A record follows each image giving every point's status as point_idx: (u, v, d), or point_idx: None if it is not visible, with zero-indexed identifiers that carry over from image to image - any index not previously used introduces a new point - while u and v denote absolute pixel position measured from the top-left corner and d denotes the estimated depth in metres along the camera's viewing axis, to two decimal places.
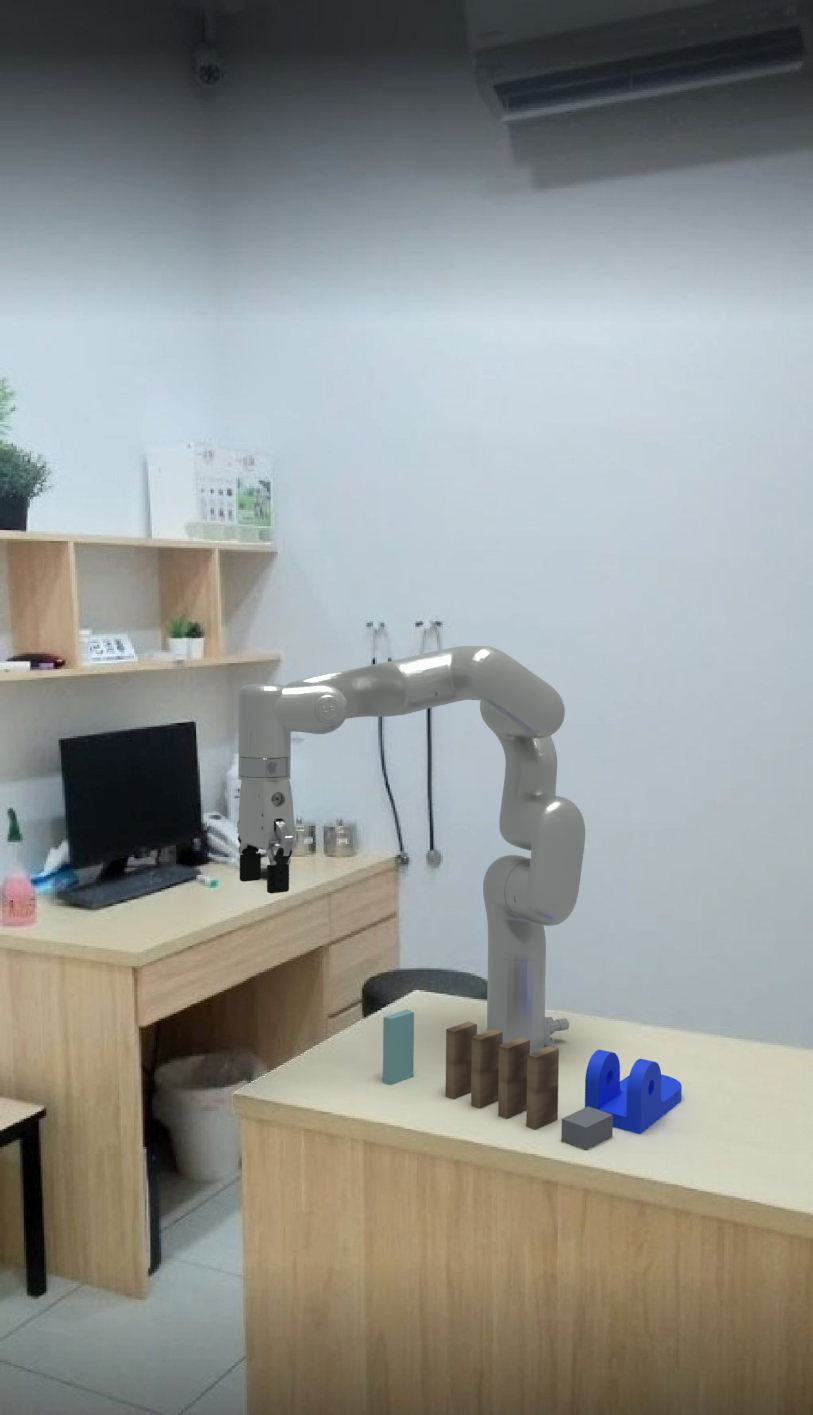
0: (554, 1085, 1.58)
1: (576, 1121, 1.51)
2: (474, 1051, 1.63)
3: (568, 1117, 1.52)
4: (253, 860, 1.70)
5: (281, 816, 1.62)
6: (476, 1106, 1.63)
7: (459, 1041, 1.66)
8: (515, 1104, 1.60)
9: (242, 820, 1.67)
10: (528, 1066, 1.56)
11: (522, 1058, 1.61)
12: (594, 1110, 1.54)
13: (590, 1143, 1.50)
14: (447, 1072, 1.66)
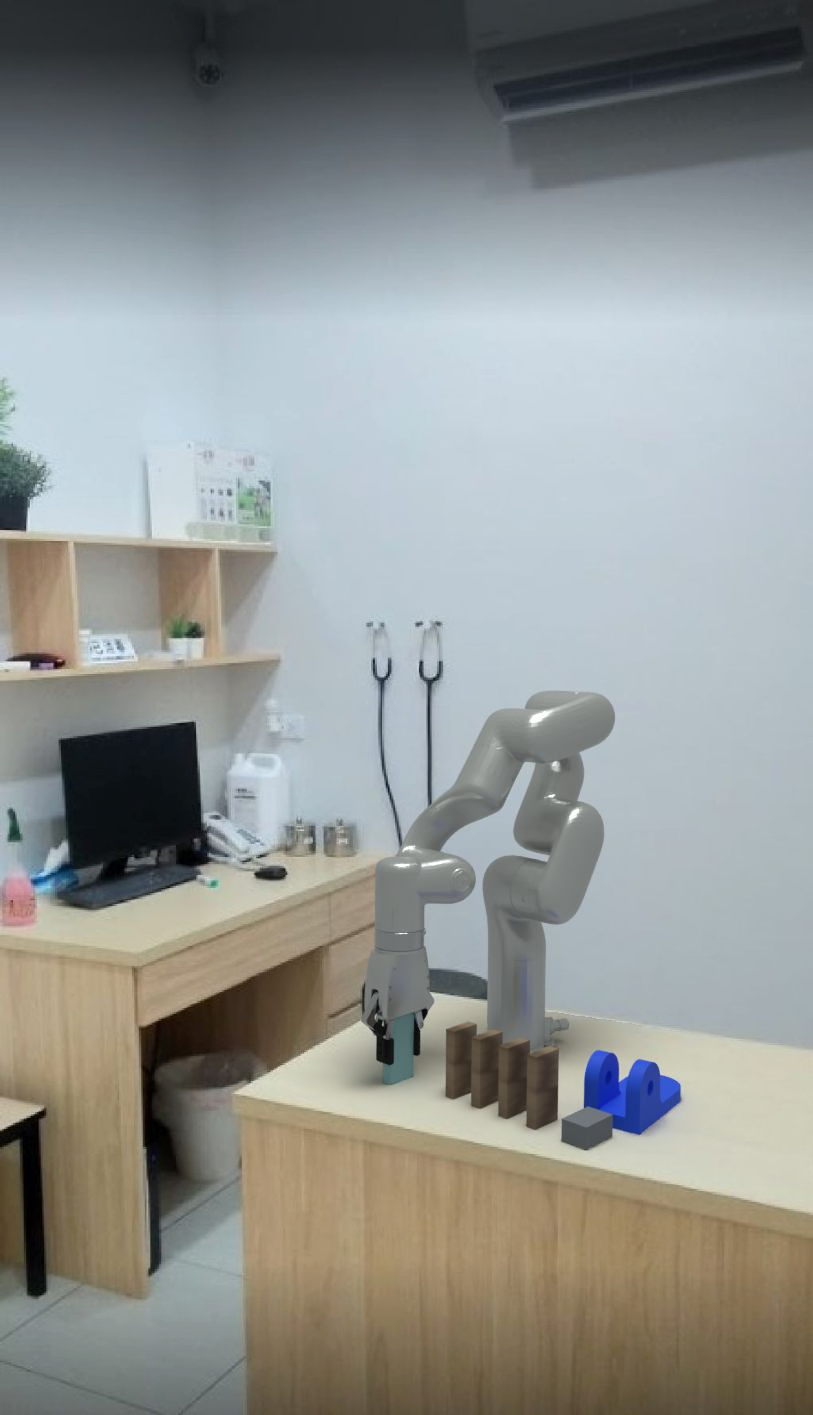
0: (554, 1085, 1.58)
1: (576, 1121, 1.51)
2: (474, 1051, 1.63)
3: (568, 1117, 1.52)
4: None
5: None
6: (476, 1106, 1.63)
7: (459, 1041, 1.66)
8: (515, 1104, 1.60)
9: (397, 996, 1.70)
10: (528, 1066, 1.56)
11: (522, 1058, 1.61)
12: (594, 1110, 1.54)
13: (590, 1143, 1.50)
14: (447, 1072, 1.66)
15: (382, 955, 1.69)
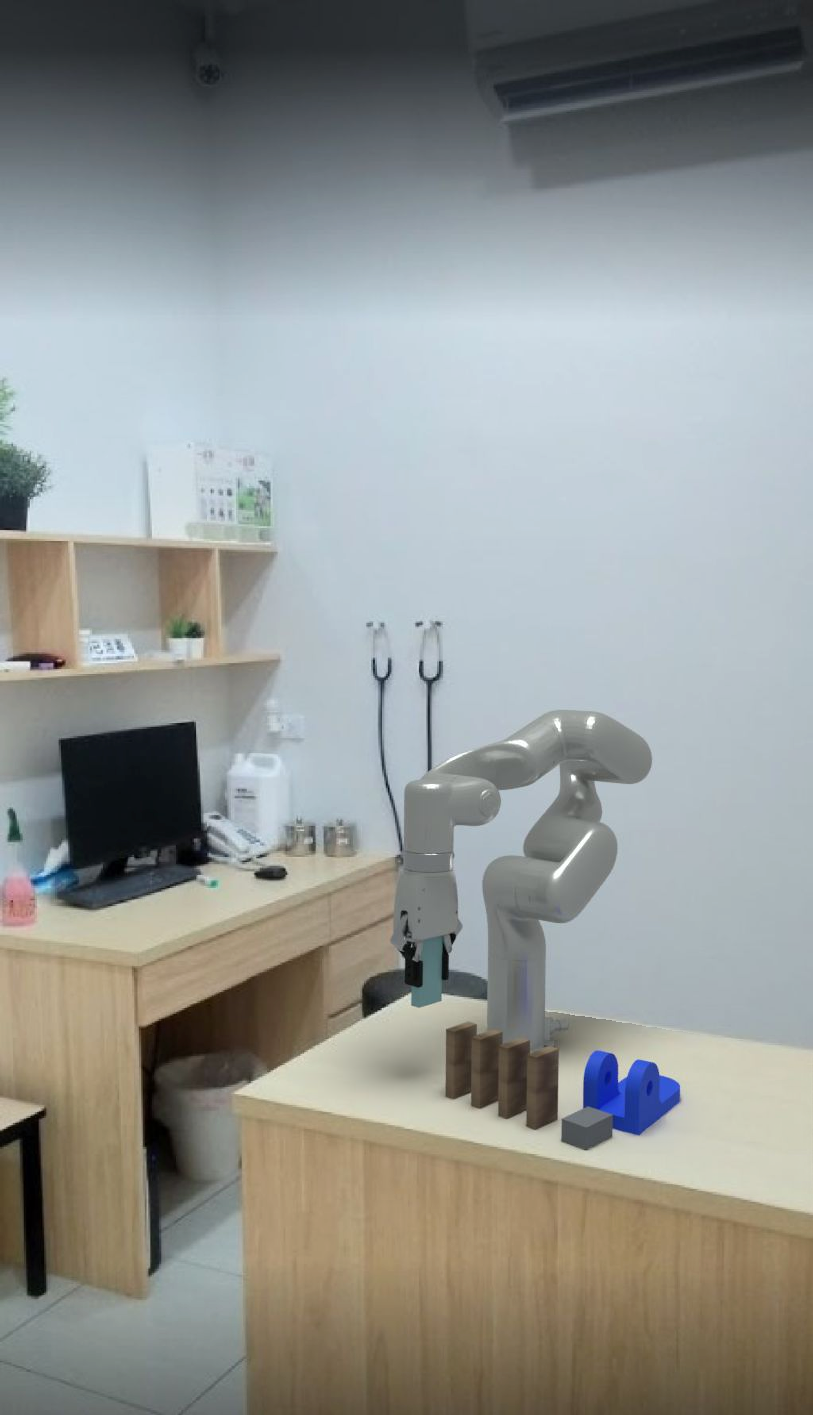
0: (554, 1085, 1.58)
1: (576, 1121, 1.51)
2: (474, 1051, 1.63)
3: (568, 1117, 1.52)
4: None
5: None
6: (476, 1106, 1.63)
7: (459, 1041, 1.66)
8: (515, 1104, 1.60)
9: (427, 917, 1.68)
10: (528, 1066, 1.56)
11: (522, 1058, 1.61)
12: (594, 1110, 1.54)
13: (590, 1143, 1.50)
14: (447, 1072, 1.66)
15: (411, 876, 1.68)
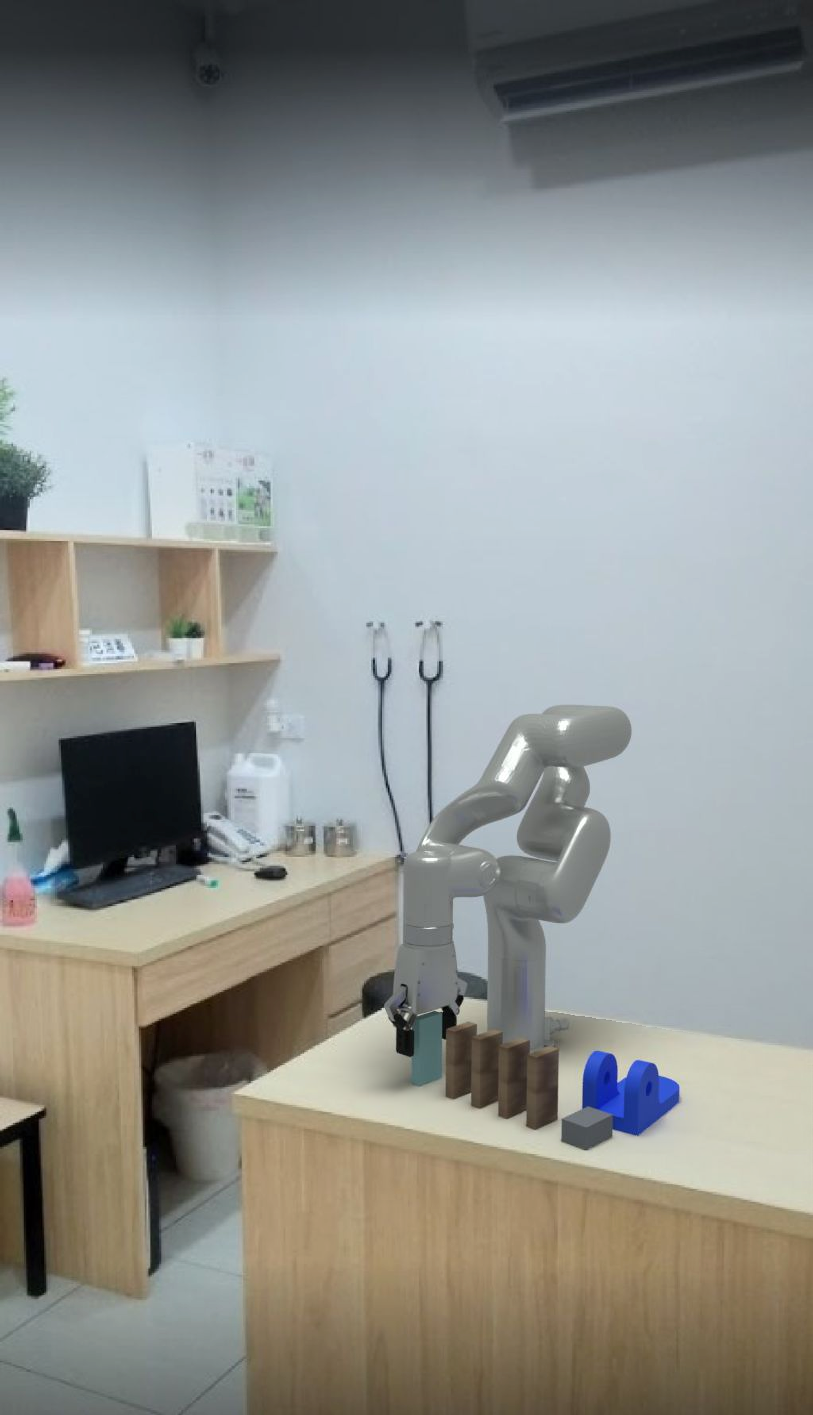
0: (554, 1085, 1.58)
1: (576, 1121, 1.51)
2: (474, 1051, 1.63)
3: (568, 1117, 1.52)
4: None
5: None
6: (476, 1106, 1.63)
7: (459, 1041, 1.66)
8: (515, 1104, 1.60)
9: (426, 991, 1.69)
10: (528, 1066, 1.56)
11: (522, 1058, 1.61)
12: (594, 1110, 1.54)
13: (590, 1143, 1.50)
14: (447, 1072, 1.66)
15: (411, 950, 1.69)
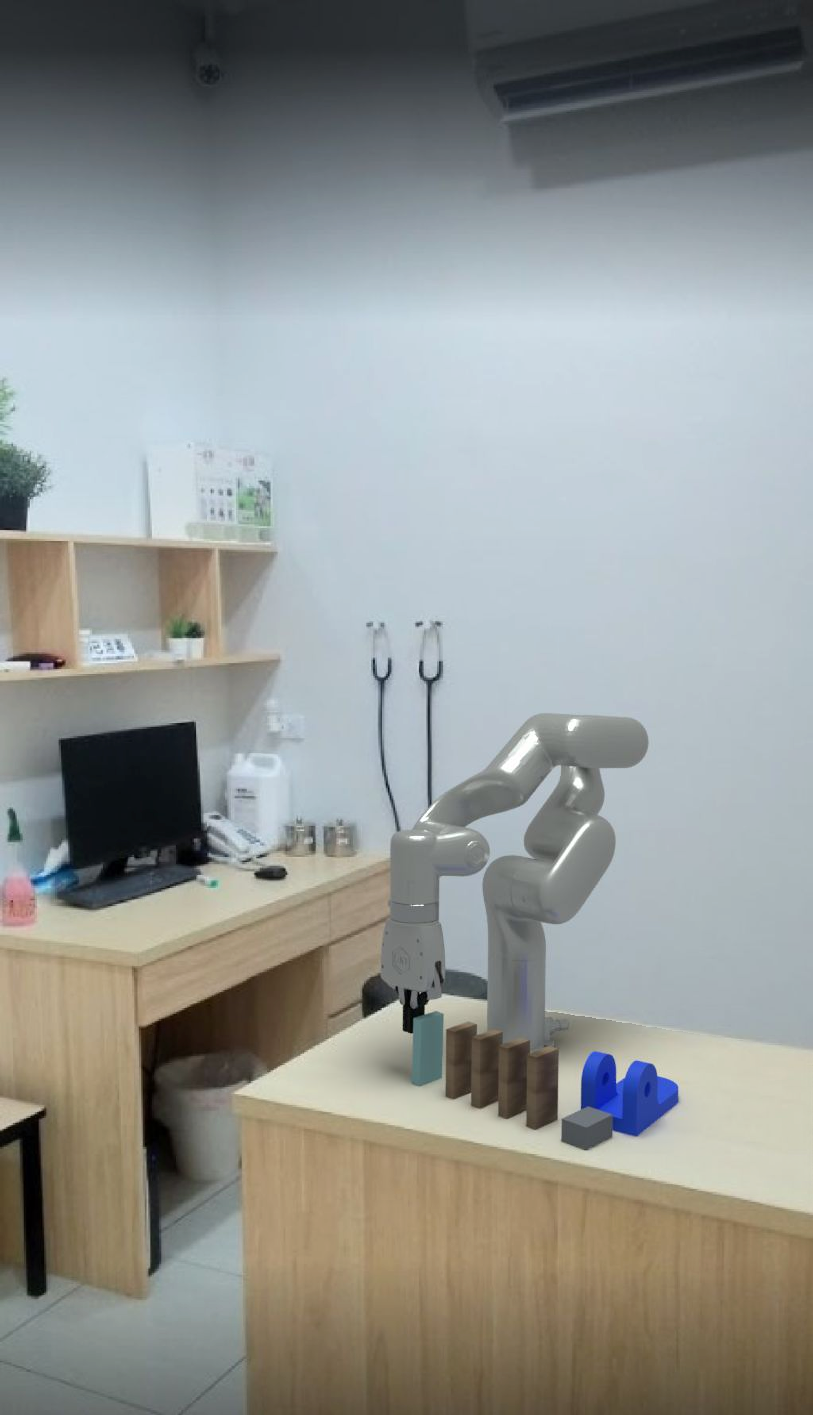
0: (554, 1085, 1.58)
1: (576, 1121, 1.51)
2: (474, 1051, 1.63)
3: (568, 1117, 1.52)
4: None
5: None
6: (476, 1106, 1.63)
7: (459, 1041, 1.66)
8: (515, 1104, 1.60)
9: None
10: (528, 1066, 1.56)
11: (522, 1058, 1.61)
12: (594, 1110, 1.54)
13: (590, 1143, 1.50)
14: (447, 1072, 1.66)
15: (437, 925, 1.71)
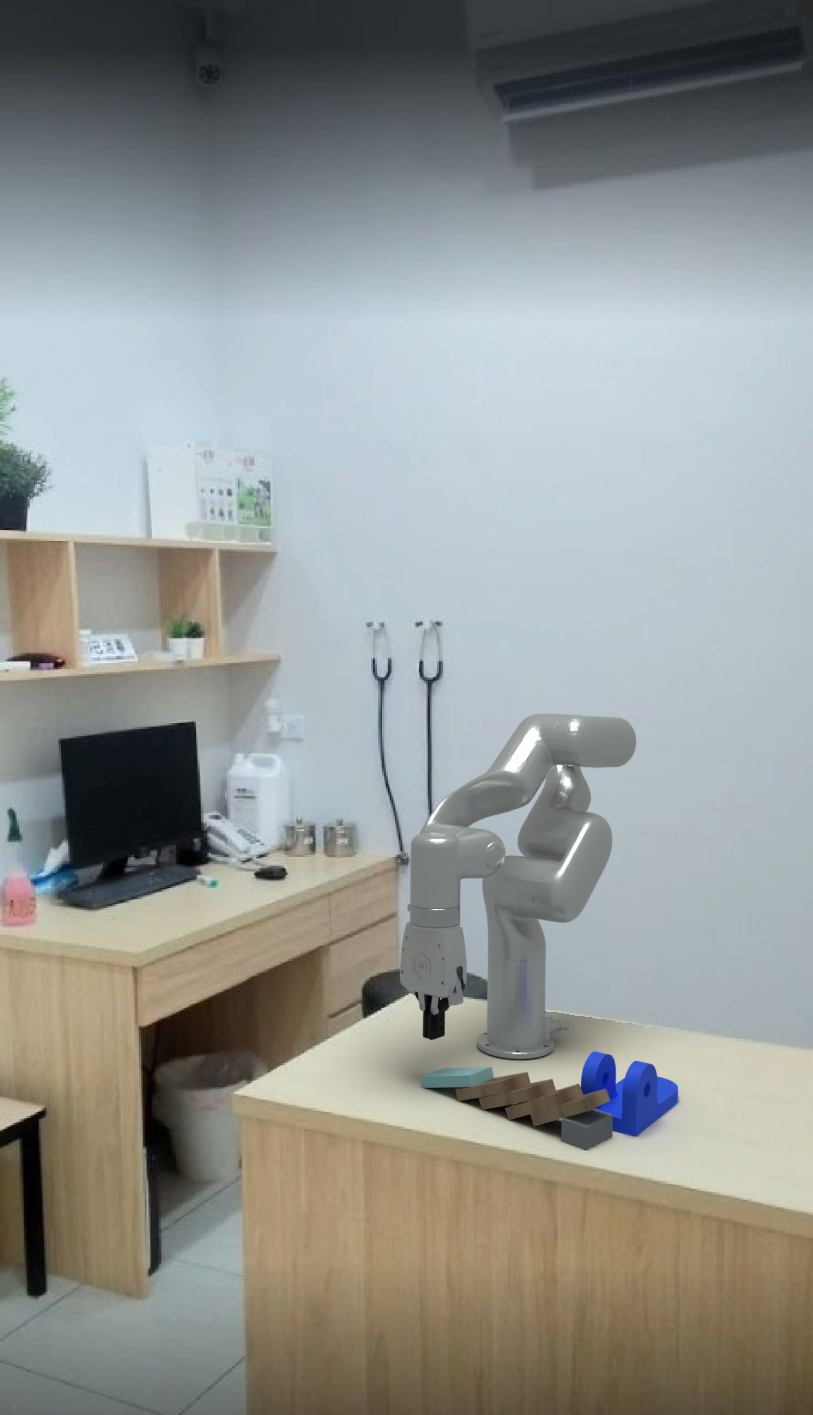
0: None
1: (576, 1121, 1.51)
2: (520, 1094, 1.57)
3: (568, 1117, 1.52)
4: None
5: None
6: (481, 1105, 1.62)
7: None
8: None
9: None
10: (575, 1102, 1.50)
11: None
12: (594, 1110, 1.54)
13: (590, 1143, 1.50)
14: (473, 1089, 1.63)
15: (459, 930, 1.69)
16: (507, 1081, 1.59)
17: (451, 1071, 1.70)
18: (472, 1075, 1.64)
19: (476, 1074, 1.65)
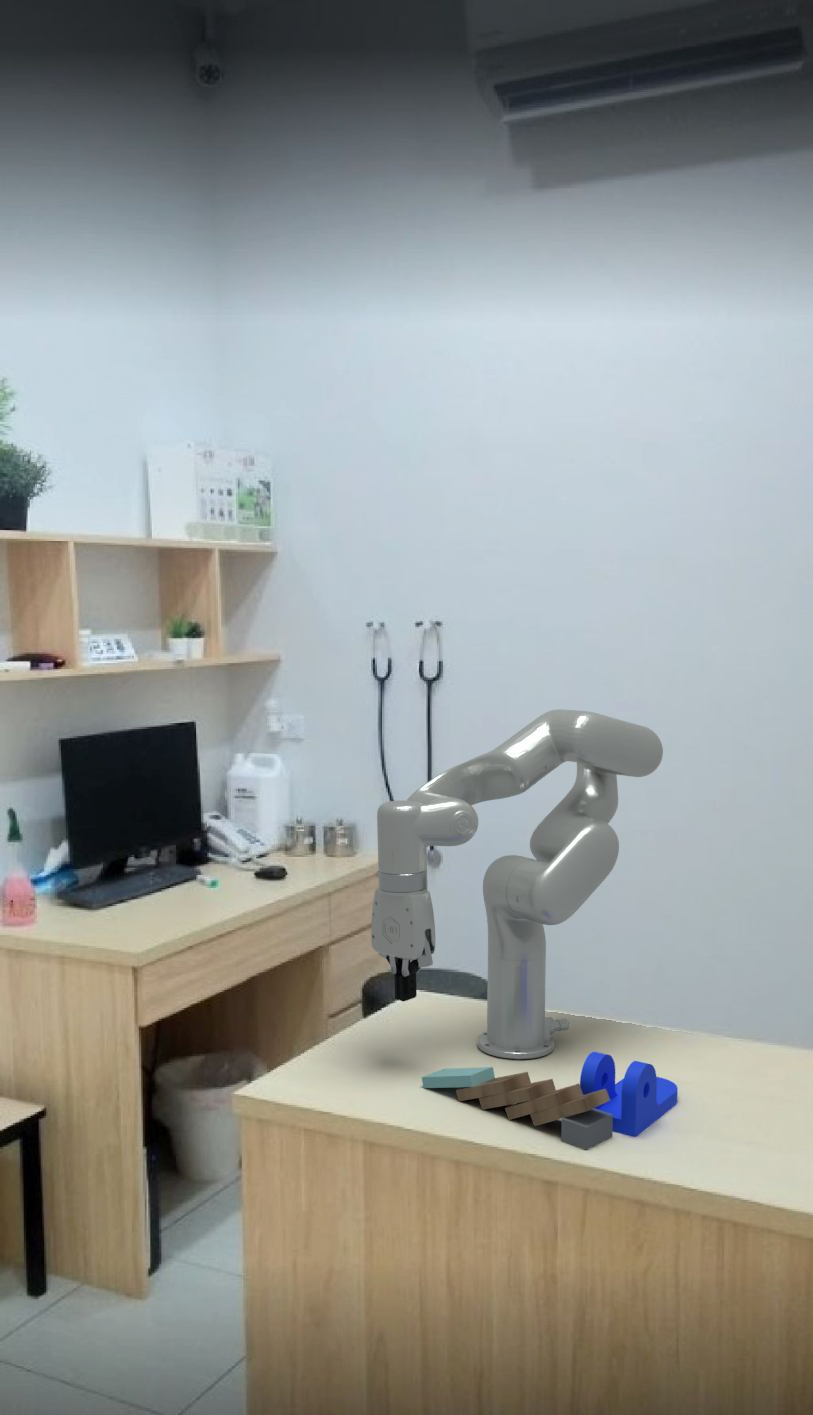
0: None
1: (576, 1121, 1.51)
2: (520, 1094, 1.57)
3: (568, 1117, 1.52)
4: None
5: None
6: (481, 1105, 1.62)
7: None
8: None
9: None
10: (575, 1102, 1.51)
11: None
12: (594, 1110, 1.54)
13: (590, 1143, 1.50)
14: (473, 1089, 1.63)
15: (426, 894, 1.73)
16: (507, 1081, 1.59)
17: (452, 1071, 1.70)
18: (473, 1075, 1.64)
19: (477, 1074, 1.65)
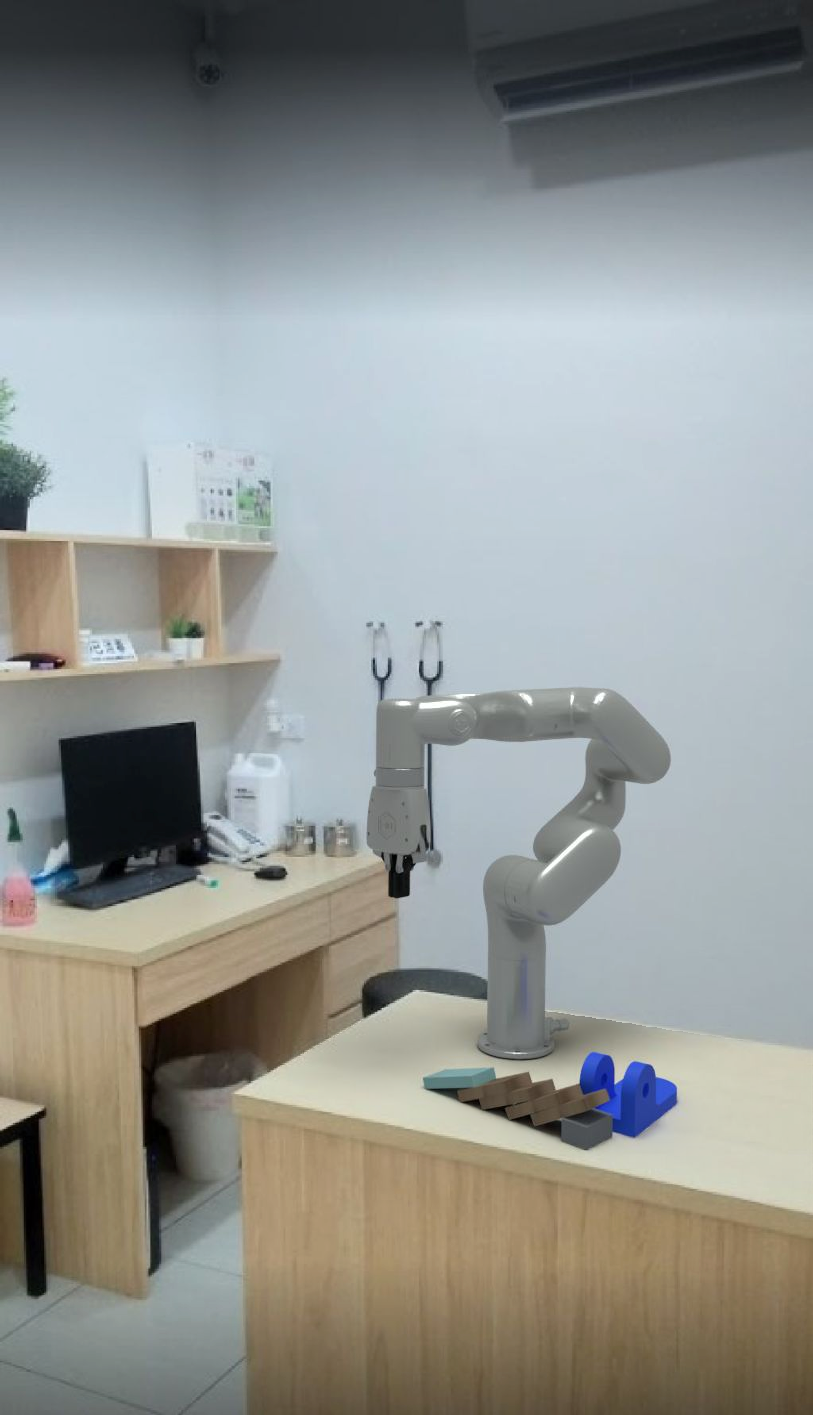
0: None
1: (576, 1121, 1.51)
2: (520, 1094, 1.57)
3: (568, 1117, 1.52)
4: None
5: None
6: (481, 1105, 1.62)
7: None
8: None
9: None
10: (575, 1102, 1.51)
11: None
12: (594, 1110, 1.54)
13: (590, 1143, 1.50)
14: (475, 1090, 1.63)
15: (423, 790, 1.74)
16: (508, 1081, 1.59)
17: (453, 1072, 1.70)
18: (474, 1076, 1.64)
19: (478, 1075, 1.64)
